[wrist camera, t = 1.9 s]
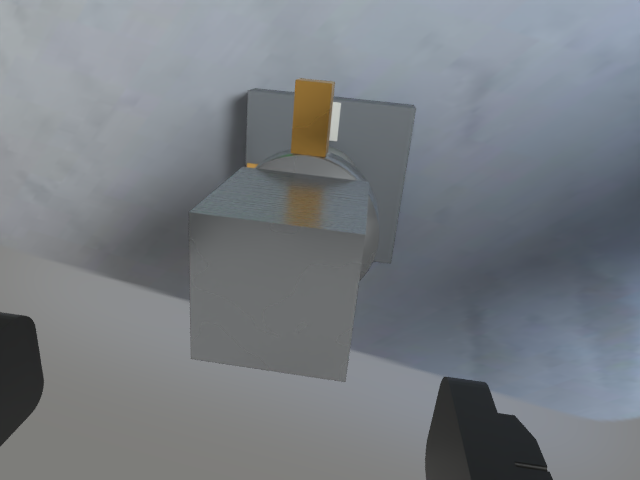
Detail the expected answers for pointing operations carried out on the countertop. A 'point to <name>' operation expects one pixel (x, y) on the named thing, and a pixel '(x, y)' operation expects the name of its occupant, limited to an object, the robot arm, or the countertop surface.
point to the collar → (284, 254)
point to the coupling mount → (344, 145)
